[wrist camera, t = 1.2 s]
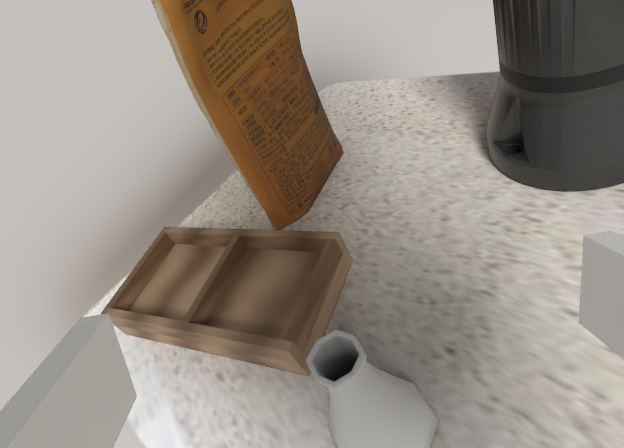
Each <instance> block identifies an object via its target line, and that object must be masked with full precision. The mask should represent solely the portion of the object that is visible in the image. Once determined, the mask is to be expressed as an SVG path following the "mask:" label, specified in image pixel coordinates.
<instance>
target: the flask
mask: <svg viewBox="0 0 624 448" xmlns="http://www.w3.org/2000/svg"><path fill="white" fill-rule="evenodd" d="M366 358H367V355H366V353H365V351H364V349H363V348H362V346H361V344H360V343H359V341H358V339H357V337H356V336H355V335H353V334H350V333H347V332H343V331H340V330H337V329H335V330H333V331H332V332H330V333H328V334H327V335H325V336H323V337H322V338H320V339H318V340H317V341H316V342H315V344H314V346H313V348H312V350H311V351H310V353H309V355H308V357H307V359H306V363H307V365H308V367H309V370H310V372H311V374H312V376H313V379H314V380H315V381H316V382H317V383H320V384H322V385H325V386H326V387H327V388H328V390H329V430H330V432H331V435H332V437H333V440H334V442H335V444H336V447H337V448H430V447H431V444H432V441H433V438H434V435H435V432H436V429H437V427H438V424H439V419H438V417H437V416H436V414H435V413H434V411H433V410H432V408H431V407H430V405H429V404H428V402H427V401H426V399H425V397H424V396H423V394H422V393H421V391H420V390H419V388H418V387H417V385H416V384H414V383H412V382H409V381H406V380H404V379H401V378H398V377H396V376H393V375H391V374H389V373H386V372H384V371H382V370H380V369H378V368H375V367H374V366H373V365H372V364H370V363H369V362H368V361H367V360H366Z"/></svg>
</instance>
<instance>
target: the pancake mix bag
mask: <svg viewBox="0 0 624 448" xmlns="http://www.w3.org/2000/svg"><path fill="white" fill-rule="evenodd" d="M151 1H152V3H153V6H154V8H155V11H156V13H157V16H158V19H159V21H160V24H161V26H162V28H163V30H164V32H165V34H166V35H167V37H168V39H169V41H170V44H171V46H172V49H173V52H174V54H175V57H176V60H177V62H178V64H179V66H180V68H181V70H182V73H183V75H184V77H185V79H186V81H187V84H188V86H189V88H190V90H191V92H192V94H193V96H194V98H195V100H196V102H197V104H198V106H199V108H200V109H201V111H202V112H203V114H204V115H205V117H206V118H207V120H208V122H209V124H210V126H211V128H212V130H213V132H214V134H215V135H216V137H217V138H218V140H219V141H220V143H221V144H222V145H223V147H224V149H225V150H226V152H227V154H228V155H229V157H230V158H231V160H232V161H233V163H234V164H235V165H236V167H237V169H238V170H239V172H240V173H241V175H242V176H243V178H244V180H245V182H246V184H247V185H248V187H249V189H250V190H251V191H252V193H253V194H254V196H255V197H256V199H257V200H258V202H259V203H260V205H261V206H262V207H263V208H264V210H265V211H266V213H267V215H268V217H269V219H270V221H271V224H272V226H273V228H274V230H278V229H280V228H283V227H285V226H287V225H289V224H291V223H293V222H295V221H297V220H299V219H300V218H301V217H302V216H303V215H304V214H306V213H307V212H308V211H309V209H310V207H311V206H312V204H313V202H314V201H315V199H316V197H317V196H318V194H319V192H320V190H321V189H322V187H323V185H324V184H325V182H326V180H327V178H328V177H329V175H330V173H331V171H332V170H333V168H334V166H335V165H336V163H337V162H338V161H339V159H340V157H341V156H342V154H343V150H342V146H341V144H340V143H339V141H338V139H337V137H336V135H335V134H334V132H333V130H332V128H331V125H330V123H329V121H328V118H327V116H326V113H325V111H324V109H323V106H322V104H321V101H320V99H319V96H318V93H317V91H316V88H315V86H314V83H313V81H312V79H311V76H310V73H309V70H308V68H307V65H306V62H305V59H304V57H303V54H302V50H301V45H300V40H299V33H298V27H297V21H296V16H295V11H294V7H293V4H292V1H291V0H151Z"/></svg>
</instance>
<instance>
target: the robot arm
mask: <svg viewBox="0 0 624 448" xmlns="http://www.w3.org/2000/svg"><path fill="white" fill-rule="evenodd" d="M493 5H494V14H495V24H496V35H497V45H498V55H499V64H500V79H499V83H498V87H497V90H496V94H495V98H494V101H493V105H492V109H491V112H490V116H489V119H488V123H487V131H486V132H487V142H488V150H489V155H490V158H491V160H492V162H493V163H494V164H495V166H496V167H497V168H498V169H499V170H500V171H501V172H502V173H504V174H505V175H507V176H508V177H510V178H512V179H514V180H516V181H518V182H520V183H523V184H526V185H529V186H533V187H537V188H542V189H548V190H556V191H584V190H594V189H600V188H606V187H610V186H614V185H618V184H621V183H624V0H493ZM579 323H580V324H581V325H583V326H584V327H585V328H586V329H588V330H589V331H590V332H591V333H593V334H594V335H595V336H596V337H597V338H599V339H600V340H601V341H602V342H604V343H605V344H606V345H607V346H609V347H610V348H611V349H612V350H614V351H615V352H616V353H617V354H619V355H620V356H621V357H622V358H623V359H624V237H623V236H621V235H618V234H616V233H614V232H612V231H609V232H603V233H597V234H591V235H585V236H584V241H583V259H582V277H581V296H580V314H579ZM136 397H137V396H136V393H135V390H134V387H133V384H132V381H131V378H130V375H129V372H128V369H127V366H126V363H125V360H124V357H123V354H122V351H121V348H120V345H119V342H118V339H117V336H116V333H115V331H114V328H113V325H112V322H111V319H110V316H109V313H108V314H102V315H96V316H90V317H84V318H80V319H79V320H78V322H77V323H76V324H75V325H74V326H73V327H72V329H71V330H70V331H69V332H68V333H67V335H66V336H65V337H64V338H63V339H62V340H61V341H60V343H59V344H58V345H57V346H56V347H55V348H54V349H53V351H52V352H51V353H50V354H49V355H48V356H47V358H46V359H45V360H44V361H43V362H42V363H41V364H40V366H39V367H38V368H37V369H36V370H35V371H34V373H33V374H32V375H31V376H30V377H29V378H28V380H27V381H26V382H25V383H24V384H23V385H22V387H21V388H20V389H19V390H18V391H17V392H16V394H15V395H14V396H13V397H12V398H11V399H10V400H9V402H8V403H7V404H6V405H5V406H4V408H3V409H2V410H1V411H0V448H113V446H114V444H115V442H116V440H117V437H118V435H119V433H120V431H121V429H122V427H123V425H124V423H125V420H126V418H127V416H128V414H129V412H130V410H131V408H132V405H133V403H134V401H135V399H136Z"/></svg>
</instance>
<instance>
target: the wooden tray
mask: <svg viewBox="0 0 624 448" xmlns="http://www.w3.org/2000/svg"><path fill="white" fill-rule="evenodd" d="M352 261H353V260H352V258H351V256H350V254H349V252H348V250H347V248H346V246H345V244H344V242H343V240H342V238H341V236H340V234H339V232H311V231H278V230H245V229H213V228H180V227H164V229H163V230H162V231H161V232H160V234H159V235H158V237H157V238H156V239H155V241H154V242H153V243H152V245H151V246H150V247H149V249H148V250H147V251H146V253H145V254H144V256H143V257H142V258H141V260H140V261H139V262H138V264H137V265H136V267H135V268H134V269H133V270H132V272H131V273H130V275H129V276H128V277H127V279H126V280H125V281H124V283H123V284H122V285H121V287H120V288H119V289H118V291H117V292H116V294H115V295H114V296H113V298H112V299H111V300H110V302H109V303H108V304H107V306H106V307H105V308H104V310H103V311H102V313H101V315H102V314H108V313H109V316H110V319H111V322H112V323H113V324H114V325H115V326H117V327H118V328H119V329H120V330H122V331H123V332H124V333H125V334H127V335H132V336H136V337H140V338H145V339H149V340H154V341H158V342H162V343H167V344H171V345H175V346H180V347H184V348H189V349H193V350H197V351H202V352H206V353H211V354H215V355H219V356H224V357H228V358H232V359H237V360H241V361H246V362H250V363H254V364H259V365H263V366H267V367H272V368H276V369H281V370H285V371H289V372H294V373H298V374H302V375H307V376H309V374H310V370H309V367H308V365H307V363H306V359H307V357H308V355H309V353H310V351H311V350H312V348H313V346H314V344H315V342H316V341H317V340H318V339H320V338H322V337H323V336H324V334H325V332H326V329H327V326H328V324H329V321H330V319H331V316H332V313H333V311H334V308H335V305H336V303H337V300H338V297H339V295H340V292H341V290H342V287H343V284H344V282H345V279H346V276H347V274H348V271H349V268H350V266H351V263H352Z"/></svg>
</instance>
